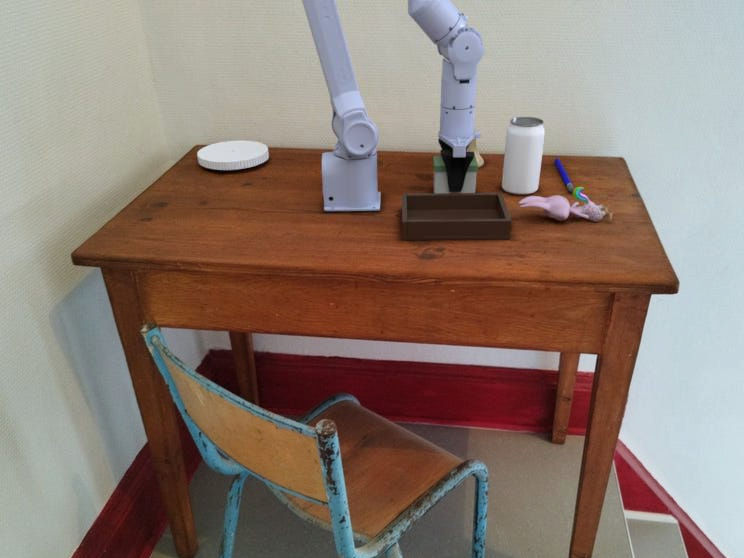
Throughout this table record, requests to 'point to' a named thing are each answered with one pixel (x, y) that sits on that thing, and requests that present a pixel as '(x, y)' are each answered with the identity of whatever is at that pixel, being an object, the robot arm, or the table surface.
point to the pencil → (564, 175)
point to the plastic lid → (233, 155)
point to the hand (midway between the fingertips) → (454, 185)
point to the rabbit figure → (567, 206)
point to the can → (523, 155)
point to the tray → (455, 216)
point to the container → (442, 181)
